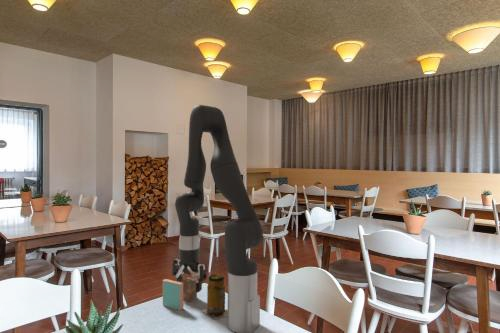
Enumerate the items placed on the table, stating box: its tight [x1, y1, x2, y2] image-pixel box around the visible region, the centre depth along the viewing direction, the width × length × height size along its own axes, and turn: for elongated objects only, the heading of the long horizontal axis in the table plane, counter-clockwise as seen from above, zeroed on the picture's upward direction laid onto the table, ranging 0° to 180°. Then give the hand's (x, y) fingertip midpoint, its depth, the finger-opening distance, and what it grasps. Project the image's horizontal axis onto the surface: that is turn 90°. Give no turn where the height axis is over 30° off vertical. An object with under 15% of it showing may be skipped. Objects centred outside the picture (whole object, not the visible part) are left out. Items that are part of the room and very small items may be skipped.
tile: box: [162, 278, 184, 311], centre depth 114 cm, size 8×2×9 cm, turn 63°
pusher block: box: [182, 277, 198, 303], centre depth 120 cm, size 4×4×7 cm
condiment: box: [201, 273, 228, 320], centre depth 110 cm, size 7×8×12 cm
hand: (188, 289), depth 121 cm, fingers open, 8 cm apart
